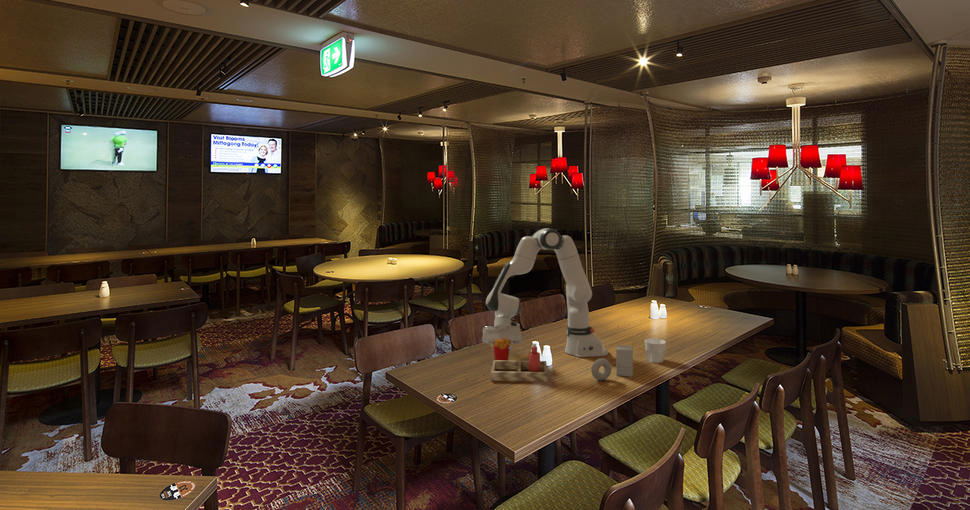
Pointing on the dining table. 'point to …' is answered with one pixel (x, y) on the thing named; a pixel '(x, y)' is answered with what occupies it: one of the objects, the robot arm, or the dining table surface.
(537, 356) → the ketchup bottle
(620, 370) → the supplement box
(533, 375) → the caddy
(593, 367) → the donut
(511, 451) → the dining table surface
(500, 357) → the french fries
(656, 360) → the cup
